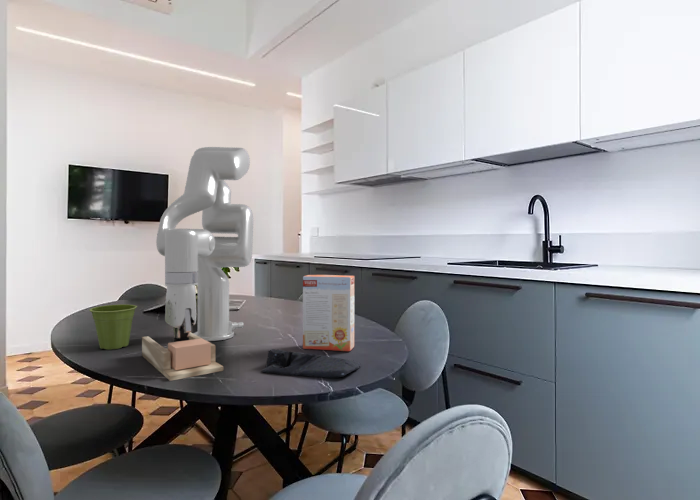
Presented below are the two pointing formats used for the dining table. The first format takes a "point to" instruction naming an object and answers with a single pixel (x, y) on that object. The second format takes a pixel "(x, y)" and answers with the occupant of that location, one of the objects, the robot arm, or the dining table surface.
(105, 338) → the plant pot
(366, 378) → the dining table surface
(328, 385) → the dining table surface
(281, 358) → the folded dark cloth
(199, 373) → the chute
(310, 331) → the cracker box
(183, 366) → the block
